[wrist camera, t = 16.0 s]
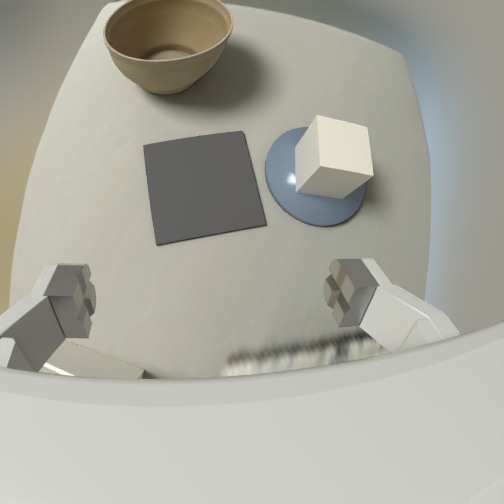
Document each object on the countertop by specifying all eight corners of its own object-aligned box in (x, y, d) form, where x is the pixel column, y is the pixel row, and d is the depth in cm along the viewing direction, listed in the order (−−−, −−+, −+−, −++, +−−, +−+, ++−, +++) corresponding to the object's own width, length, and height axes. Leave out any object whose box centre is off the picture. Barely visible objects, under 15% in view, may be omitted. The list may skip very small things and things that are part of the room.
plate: (373, 218, 41) (377, 216, 40) (279, 235, 38) (282, 233, 37) (344, 129, 43) (347, 126, 42) (254, 134, 40) (255, 130, 39)
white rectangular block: (342, 198, 39) (373, 175, 31) (295, 192, 38) (320, 165, 30) (339, 155, 40) (366, 127, 33) (294, 147, 39) (316, 115, 31)
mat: (265, 225, 38) (265, 224, 37) (156, 245, 35) (156, 244, 34) (242, 132, 39) (242, 130, 39) (143, 146, 36) (143, 145, 36)
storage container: (116, 520, 27) (102, 567, 16) (45, 491, 26) (16, 528, 15) (144, 369, 32) (124, 394, 22) (60, 337, 31) (15, 346, 20)
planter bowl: (127, 130, 36) (112, 78, 26) (108, 56, 38) (97, 6, 27) (239, 97, 40) (254, 44, 30) (203, 31, 42) (209, -18, 31)
